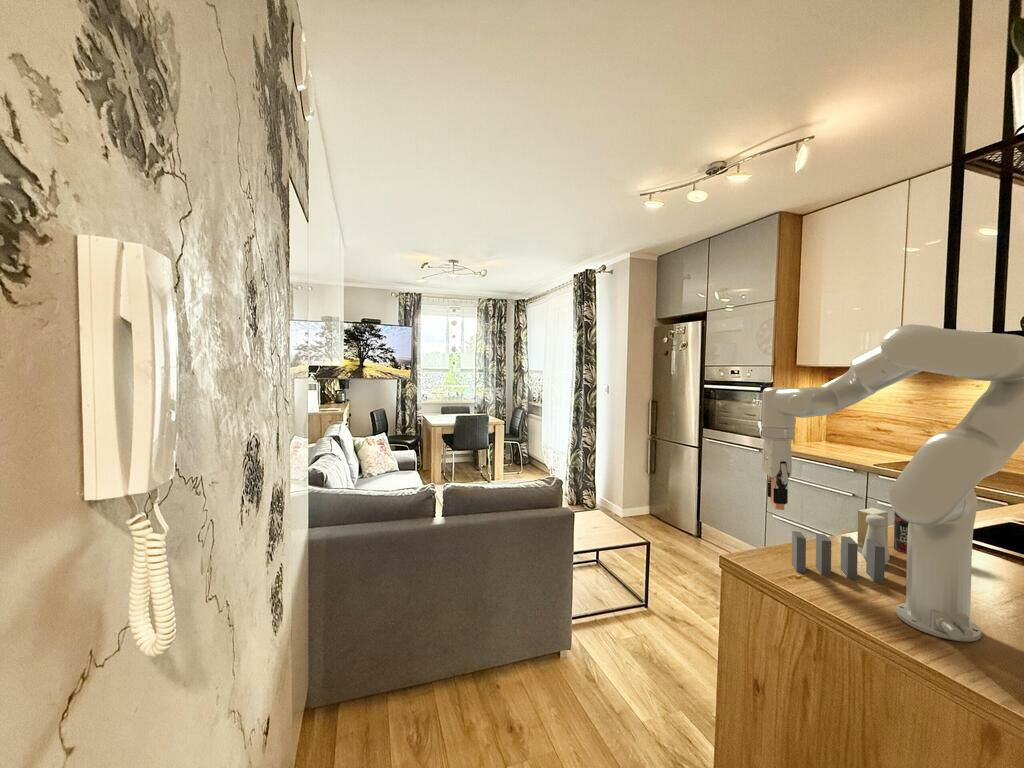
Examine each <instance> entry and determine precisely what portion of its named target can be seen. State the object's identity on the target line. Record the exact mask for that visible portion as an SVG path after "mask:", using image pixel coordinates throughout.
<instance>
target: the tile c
mask: <svg viewBox="0 0 1024 768" xmlns="http://www.w3.org/2000/svg"><path fill="white" fill-rule="evenodd" d="M841 570H842V571H843V572H842V571H841ZM840 571H841V572H842V574H843V573H844V574H845V575H846V576H845V575H844V574H843V575H844V576H845V578H846V579H847V578H853V579H852V580H855V579H857V580H858V542H856V541H855V540H854V539H853V538H852V537H851V536H843V535H840Z"/></svg>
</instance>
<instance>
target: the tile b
mask: <svg viewBox="0 0 1024 768" xmlns="http://www.w3.org/2000/svg"><path fill="white" fill-rule="evenodd" d="M815 535H816V537H815V542H816V543H815V568H816V569H817V571H818V572H819V574H820V575H821V576H825V577H831V576H832V540H830V538H829V537H828V535H827V534H825V533H816V534H815Z"/></svg>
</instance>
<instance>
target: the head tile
mask: <svg viewBox="0 0 1024 768" xmlns="http://www.w3.org/2000/svg"><path fill="white" fill-rule="evenodd" d="M777 476H779V477H781V474H777ZM779 480H781V479H778V481H779ZM773 488H775V481H774V476H773V477H771V497H770V505H771V506H772V507H773V508H774V509H775V510H778V511H779V510H780V511H781V510H782V511H785V504H777V503H774V502H773Z"/></svg>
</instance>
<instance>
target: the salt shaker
mask: <svg viewBox="0 0 1024 768" xmlns="http://www.w3.org/2000/svg"><path fill="white" fill-rule="evenodd" d="M866 523H868V524H869V525H868V529H867V533H866V538H865V542H864V546H863V550H862V553H861V554H862V557H863V559H864V560H865V561H866V555H867V539H875V540H877V541H878V542H880V543H881V544H882V545H883V546H884V547H885V566H886V565H887V564H888V562H889V561H890V557H891V556H890V552H889V547H888V546H889V545H888V546H887V541H886V536H885V531H884V526H886V523H887V521H886V519H885V518H884V517H882V516H879V515H873V514H870V515H867V516H866Z"/></svg>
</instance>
